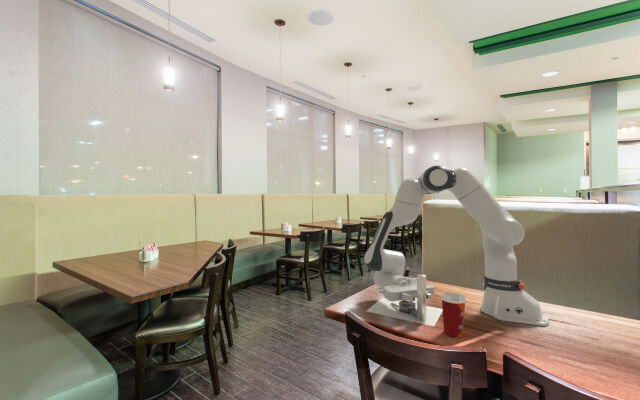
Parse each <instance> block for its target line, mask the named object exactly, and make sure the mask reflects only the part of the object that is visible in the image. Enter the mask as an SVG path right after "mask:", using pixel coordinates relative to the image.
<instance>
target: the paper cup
mask: <svg viewBox="0 0 640 400" xmlns="http://www.w3.org/2000/svg"><path fill="white" fill-rule="evenodd" d="M440 299H441V306H442V308H441V309H443V312H442V323H443V324H442V325H443V333H444V334H445V335H446V336H447V337H450V338H454V339H455V338H456V339H460V338H463V337H464V323H465V312H466V311H465V307H466V306H465V305H466V303H467V300H466V297H465V295H463V294H462V293H458V292H450V291H449V292H443V293H442V294H441V296H440Z"/></svg>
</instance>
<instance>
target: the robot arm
mask: <svg viewBox="0 0 640 400" xmlns="http://www.w3.org/2000/svg"><path fill="white" fill-rule="evenodd" d="M445 190H447V191H449V192H450V193H452V194H453V195H454V197H455V198H456V200H457V201H458V202H459V203H460V205H462V207H463V208H464V209H465V211H466V212H467V213H468V215H469V216H470V217H472V218H473V219H474V221H476V223H478V225H479V227H480V233H481V241H482V246H483V252H484V253H483V254H484V275H483V279H482V280H483V281H482V282H483V283H482V284H483V285H482V286H483V289H484V290H483V298H482V303H481V306H480V311H481V312H483V313H484V314H486V315H488V316H490V317H493V318H494V319H496V320H499V321H502V322H503V321H504V322H511V323H518V324H527V325H532V326H538V327H539V326H541V327H546V326H548V325H549V324H550V321H549V317H548V316H547V315H546V313H544V312H542V309H541V306H540V303H539V301H538V300H537V299H536V298H535V297H534V296H532V295H530V294H529V293H528V292H526V291H525V290H524V289H526V285H525V283H524V282H523V281H522V280H519V279H518V260H517V256H516V253H515V251H514V246H517V245H519V244H520V243H521V242H522V241H523V240H524V238H525V234H526V231H525V228H524V226H523V225H522V224H521V223H520V222H519V221H518V220H516V218H514V217H513V215H512V214H511V213H509V211H508V210H506V208H504V207H503V206H502V205H501V204H500V202H498V201H497V200H496V199H495V198H494V196H492V194H491V192H489V191H488V190H487V188H486V186H485V185H484V184H483V183H482V182H481V181H480V180H479V179H478V177H476V176H475V175H474V174H473V173H472V172H470V170H468V169H467V168H465V167H459V168H455V169H453V170H452V169H450V168H448V167H445V166H443V165H432V166H430V167H428V168H427V169H425V170H424V171H423V172H422V174H421V175H420V176H419V177H418V178H417V179H415V178H406V179H404V180H403V181H401V183H400V186H399V187H398V190H397V193H396V195H395V199H394V203H393V205H392V206H391V208H390V210H388V211H386V212H385V213H384V214H383V215H382V218H381V220H380V221H379V224H378V225H377V226H378V227H377V229H376V231H375V234H374V236H373V238H372V240H371V242H370V245H369V246H368V248H367V250H366V251H365V254H364V256H363V262H364V264H365V266H366V268H367V269H368V270H369V271H371V272H374V274H373V282H374V284H375V285H376V286H377V288H379V290H378V292H379V293H380V294H382V296H383V298H386V299H387V300H389V301H401V300H406V301H411V302H416V299H417V276H416V277H415V276H414V277H413V276H412V277H411V276H409V277H405V276H404V274H405V271H406V268H407V267H408V264H407V263H408V261H407V258H406V256H405V254H403V252H401V251H397V250H391V249H385V248H384V246H385V244H386V243H387V239H388V236H389V234H390V233H391V231H392V230H393V229H394V228H396V227H401V226H407V225H409V224H412V223H413V222H415V221H416V220H417V218H418V216H419V214H420V211H421V206H422V202H423V199H424V197H425V195H434V194H438V193H441V192H443V191H445ZM434 295H435V286H434V285H433V284H430V283H428V282H427V281H426V300H432V296H434Z"/></svg>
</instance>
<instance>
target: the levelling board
mask: <svg viewBox="0 0 640 400" xmlns="http://www.w3.org/2000/svg"><path fill="white" fill-rule="evenodd" d="M400 301H401V300H399V301H389V300H387V299H386V298H385V297H381V298H380V299H378V301H377V302H375V303H374V304H373V305H372V306H370V307H368V309H366V312H368V313H372V314H377V315H381V316H385V317H389V318H395V319H399V320H402V321H407V322H411V323H418V324H420V325H426V326H429V327H435V326H436V324H437V322H438V320H439V319H440V317H441V315H442V314H443V309H442V308H440V307H435V306H429V305H426V321H420V320H418V319H417V318H416V317H414V316H413V315H412V314H410V313H403V312H401V311H399V302H400ZM415 304H416V309H417V303H415Z"/></svg>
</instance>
